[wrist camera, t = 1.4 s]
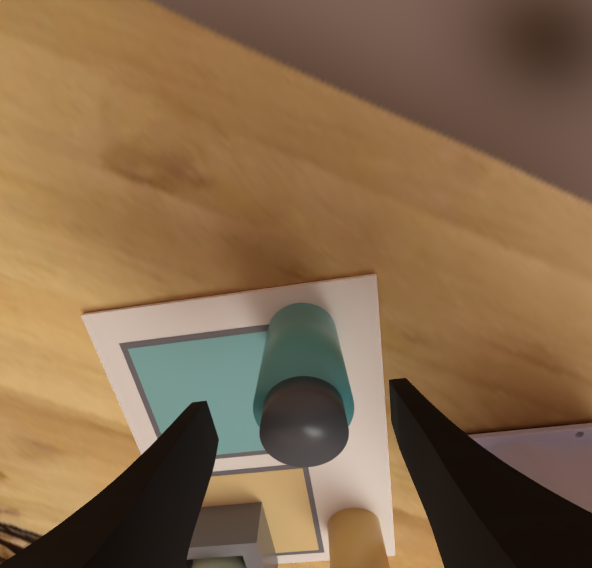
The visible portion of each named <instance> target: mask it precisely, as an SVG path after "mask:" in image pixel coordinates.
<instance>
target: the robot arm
mask: <svg viewBox="0 0 592 568" xmlns="http://www.w3.org/2000/svg"><path fill="white" fill-rule="evenodd" d="M389 388H390V405H391V422H392V425H393V429H394V432H395V436H396V439H397V442H398V445H399V449H400V451H401V454H402V456H403V459H404V461H405V463H406V466H407V468H408V471H409V473H410V475H411V478H412V480H413V483H414V485H415V487H416V490H417V492H418V495H419V497H420V499H421V502H422V504H423V507H424V509H425V511H426V514H427V517H428V519H429V522H430V525H431V527H432V530H433V533H434V536H435V539H436V543H437V546H438V549H439V552H440V555H441V558H442V561H443V564H444V567H445V568H592V423H585V424H575V425H565V426H554V427H544V428H533V429H523V430H513V431H502V432H492V433H481V434H471V435H467V434H466V433H465V432H463V431H462V430H461V429H460V428H458V427H457V426H456V425H455V424H454V423H452V422H451V421H450V420H449V419H448V418H447V417H446V416H445V415H443V414H442V413H441V412H440V411H439V410H438V409H437V408H436V407H435V406H433V405H432V404H431V403H430V402H429V401H428V400H427V399H426V398H425V397H424V396H423V395H422V394H421V393H420V392H419V391H418V390H417V389H416V388H415V387H414V386H413V385H412V384H411V383H410V382H409V381H408V380H407V379H406V378H402V379H393V380H389ZM218 442H219V438H218V435H217V432H216V428H215V425H214V422H213V419H212V416H211V413H210V409H209V406H208V403H207V401H199V402H192V403H191V404H190V405H189V406H188V407H187V408H186V409H185V410H184V411H183V412H182V413H181V414H180V415H179V416H178V417H177V419H176V420H175V421H174V422H173V423H172V424H171V425H170V426H169V427H168V428H167V429H166V430H165V431H164V432H163V433H162V434H161V436H160V437H159V438H158V439H157V440H156V441H155V442H154V443H153V444H152V445H151V446H150V447H149V448H148V449H147V450H146V451H145V452H144V453H143V454H142V455H141V456H140V457H139V458H138V459H137V460H136V461H135V462H134V463H133V464H132V465H131V466H130V467H129V468H127V469H126V470H125V471H124V472H123V473H122V474H121V475H120V476H119V477H118V478H116V479H115V480H114V481H113V482H112V483H111V484H110V485H108V486H107V487H106V488H105V489H104V490H103V491H101V492H100V493H99V494H98V495H97V496H95V497H94V498H93V499H92V500H90V501H89V502H88V503H86V504H85V505H84V506H83V507H81V508H80V509H79V510H77V511H76V512H75V513H74V514H72V515H71V516H70V517H68V518H67V519H66V520H65V521H63V522H62V523H61V524H59V525H58V526H56V527H55V528H54V529H52V530H51V531H49V532H48V533H47V534H45V535H44V536H42V537H41V538H39V539H38V540H36V541H35V542H34V543H32V544H31V545H29V546H28V547H26V548H25V549H23V550H22V551H20V552H19V553H17V554H16V555H14V556H13V557H11V558H9V559H8V560H6V561H5V562H3V563H1V564H0V568H185V564H186V560H187V555H188V551H189V547H190V543H191V540H192V536H193V532H194V529H195V526H196V523H197V520H198V516H199V513H200V510H201V507H202V504H203V501H204V497H205V494H206V491H207V488H208V485H209V481H210V478H211V475H212V472H213V468H214V464H215V459H216V454H217V448H218Z"/></svg>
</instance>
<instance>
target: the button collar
mask: <svg viewBox="0 0 592 568" xmlns="http://www.w3.org/2000/svg"><path fill="white" fill-rule="evenodd" d="M230 556H243V558H244V561H245V564H246V567H247V568H278V558H277V555H276V552H275V548H274V545H273V541H272V537H271V534H270V530H269V526H268V523H267V519H266V516H265V512H264V508H263V505H262V502H255V503H243V504H231V505H219V506H208V507H201V510H200V513H199V516H198V520H197V523H196V526H195V529H194V532H193V536H192V540H191V543H190V547H189V551H188V555H187V560H186V564H185V568H191V567H192V564H193V560H194V559H202V558H216V557H230Z"/></svg>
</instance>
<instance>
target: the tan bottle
mask: <svg viewBox="0 0 592 568" xmlns="http://www.w3.org/2000/svg"><path fill="white" fill-rule="evenodd" d="M327 526H328V541H329V556H330V568H390V567H389V563H388V558H387V554H386V549H385V544H384V540H383V535H382V531H381V526H380V521H379V519H378V517H377V516H376V515H375V514H374V513H372V512H370V511H368V510H366V509H362V508H347V509H343V510H340V511H338V512H336V513H335V514H333V515H332V516H331V518H330V519H329V521H328V525H327Z"/></svg>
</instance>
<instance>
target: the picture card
mask: <svg viewBox="0 0 592 568" xmlns="http://www.w3.org/2000/svg"><path fill="white" fill-rule="evenodd" d="M295 303H310V304H314V305H316V306H319V307H321V308H322V309H324V310H325V311H326V312H327V313H328V314H329V315H330V316H331V317H332V319H333V321H334V323H335V326H336V330H337V334H338V338H339V342H340V346H341V351H342V355H343V359H344V363H345V367H346V371H347V375H348V379H349V383H350V387H351V392H352V396H353V400H354V415H353V418H352V421H351V423H350V425H349V426H348V428H349V438H348V441H347V444H346V446H345V448H344V449H343V451H342V452H341V453H340V454H339V455H338V456H337V457H335V458H334V459H333V460H331V461H329V462H327V463H325V464H322V465H318V466H314V467H294V466H290V465H286V464H283V463H281V462H279V461H277V460H276V459H274V458H273V457H272V456H270V455H269V454H268V453H267V452H266V450H265V449H264V447H263V446H262V444H261V441H260V436H259V429H260V428H259V426H258V425H257V423H256V421H255V418H254V414H253V402H254V396H255V391H256V386H257V381H258V376H259V371H260V366H261V361H262V356H263V351H264V346H265V341H266V336H267V331H268V326H269V323H270V321H271V319H272V318H273V316H274V315H275V314H276V313H277V312H278V311H279V310H280V309H282V308H284V307H286V306H288V305H291V304H295ZM81 317H82V320H83V322H84V324H85V327H86V329H87V331H88V333H89V336H90V338H91V340H92V343H93V345H94V347H95V349H96V352H97V354H98V356H99V359H100V361H101V363H102V365H103V368H104V370H105V372H106V375H107V377H108V379H109V382H110V384H111V386H112V388H113V391H114V393H115V395H116V398H117V400H118V402H119V404H120V407H121V409H122V411H123V414H124V416H125V418H126V421H127V423H128V425H129V427H130V430H131V432H132V434H133V437H134V439H135V441H136V443H137V446H138V448H139V450H140V453H141V455H142V454H143V453H144V452H145V451H146V450H147V449H148V448H149V447H150V446H151V445H152V444H153V443H154V442H155V441H156V440H157V439H158V438H159V437H160V436H161V434H162V433H163V432H164V431H165V430H166V429H167V428H168V427H169V426H170V425H171V424H172V423H173V422H174V421H175V420H176V419H177V417H178V416H179V415H180V414H181V413H182V412H183V411H184V410H185V409H186V408H187V407H188V406H189V405H190V404H191V403H192V402H199V401H207V403H208V406H209V409H210V413H211V416H212V419H213V422H214V425H215V428H216V432H217V435H218V438H219V442H218V448H217V454H216V459H215V464H214V468H213V472H212V475H211V478H210V481H209V485H208V488H207V491H206V494H205V497H204V501H203V504H202V507H208V506H219V505H231V504H243V503H255V502H262V505H263V508H264V512H265V516H266V519H267V523H268V526H269V530H270V534H271V537H272V541H273V545H274V548H275V552H276V555H277V558H278V564H283V563H298V562H312V561H327V560H330V556H329V541H328V526H327V525H328V521H329V519H330V518H331V516H332V515H333V514H335V513H336V512H338V511H340V510H343V509H347V508H362V509H366V510H368V511H370V512H372V513H374V514H375V515H376V516H377V517H378V519H379V521H380V526H381V531H382V535H383V540H384V544H385V549H386V554H387V556H395V542H394V527H393V512H392V497H391V482H390V467H389V452H388V437H387V422H386V407H385V392H384V377H383V362H382V347H381V332H380V317H379V302H378V287H377V275H376V273H374V274H367V275H359V276H352V277H345V278H337V279H330V280H323V281H316V282H308V283H301V284H294V285H286V286H279V287H272V288H264V289H257V290H250V291H242V292H235V293H228V294H221V295H213V296H206V297H199V298H191V299H184V300H177V301H169V302H162V303H155V304H147V305H140V306H133V307H126V308H118V309H111V310H104V311H96V312H89V313H84V314H82V315H81Z"/></svg>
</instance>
